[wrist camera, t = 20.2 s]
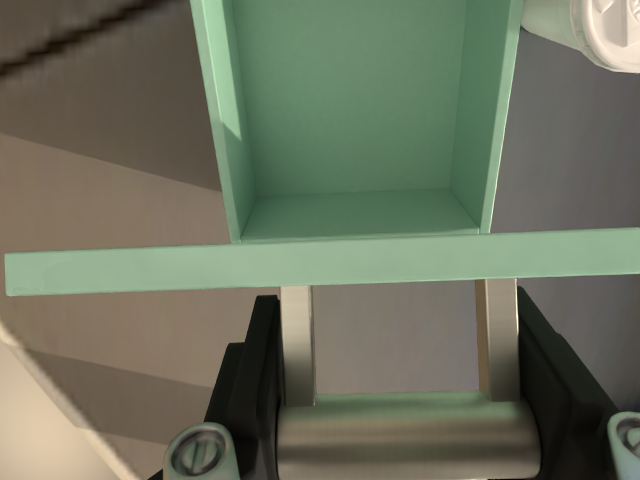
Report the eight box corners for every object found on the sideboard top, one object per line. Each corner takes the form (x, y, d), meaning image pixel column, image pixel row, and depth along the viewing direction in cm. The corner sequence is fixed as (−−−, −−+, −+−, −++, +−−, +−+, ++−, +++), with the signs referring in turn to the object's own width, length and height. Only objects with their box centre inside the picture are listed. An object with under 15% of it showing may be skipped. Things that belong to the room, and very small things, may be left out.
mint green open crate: (216, -50, 23) (175, -79, 17) (481, -68, 23) (540, -105, 16) (251, 201, 30) (231, 247, 24) (454, 192, 30) (489, 237, 23)
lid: (2, 252, 8) (13, 549, 7) (851, 218, 7) (864, 540, 7) (229, 244, 23) (233, 338, 23) (491, 233, 23) (495, 330, 23)
